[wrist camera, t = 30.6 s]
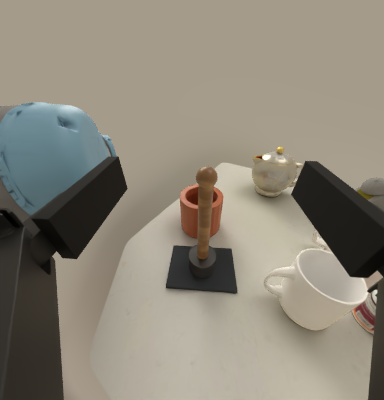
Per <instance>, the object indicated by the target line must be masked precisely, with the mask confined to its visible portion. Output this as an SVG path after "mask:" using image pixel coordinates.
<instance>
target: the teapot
mask: <svg viewBox="0 0 384 400" xmlns="http://www.w3.org/2000/svg"><path fill="white" fill-rule="evenodd" d="M283 151H284V148H283V147H278V148H277V151H273V152H268V153H266V154H264V155H259V156H254V157H253V161H254V166H253V169H252V178H253V181H254V183H255V184H256V186H255V189H256V191H257V192H258V193H259V194H261V195H263V196H267V197H276V196H278V195H280V193H281V191H282V190H284V189H286V188H287V187H294V186H295V184H296V182H297V181H296V182H293V181H294V180H295V177H296V174H297V168H301V169H302V168H303V166H304V164H301V163H295V161H294V160H293V158H292V157H291V156H289V155H288V154H286V153H284V152H283Z"/></svg>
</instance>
